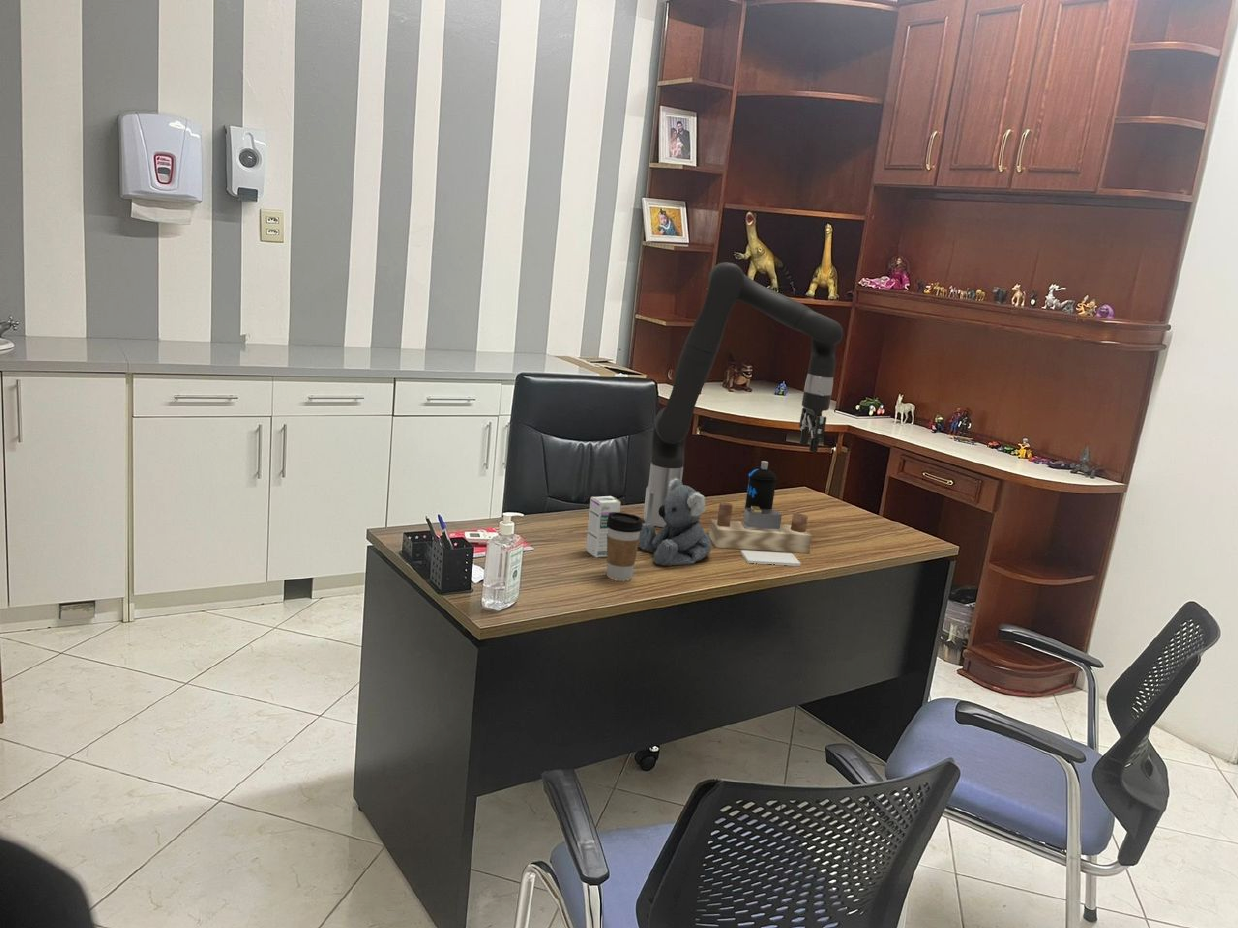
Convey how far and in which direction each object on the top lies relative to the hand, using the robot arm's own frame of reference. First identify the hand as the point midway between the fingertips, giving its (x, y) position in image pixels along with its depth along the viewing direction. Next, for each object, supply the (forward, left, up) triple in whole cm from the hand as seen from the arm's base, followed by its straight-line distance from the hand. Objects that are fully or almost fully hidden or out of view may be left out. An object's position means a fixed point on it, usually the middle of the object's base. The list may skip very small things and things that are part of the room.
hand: (808, 448), depth 267 cm
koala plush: (-39, -24, -26) cm, 52 cm away
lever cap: (-14, -11, -20) cm, 27 cm away
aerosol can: (-11, +4, -26) cm, 28 cm away
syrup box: (-59, -26, -26) cm, 69 cm away
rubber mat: (-14, -23, -26) cm, 37 cm away
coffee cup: (-56, -42, -26) cm, 74 cm away
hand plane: (-14, -11, -26) cm, 31 cm away
